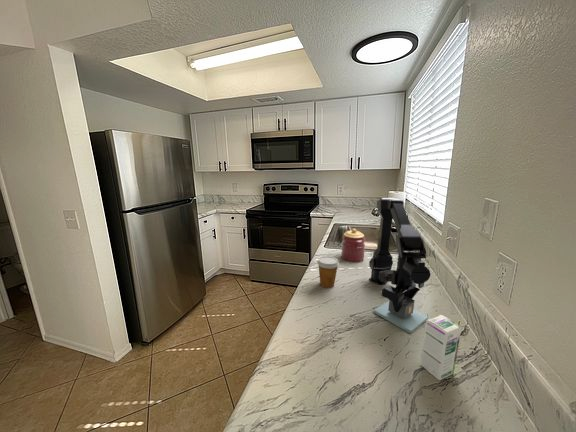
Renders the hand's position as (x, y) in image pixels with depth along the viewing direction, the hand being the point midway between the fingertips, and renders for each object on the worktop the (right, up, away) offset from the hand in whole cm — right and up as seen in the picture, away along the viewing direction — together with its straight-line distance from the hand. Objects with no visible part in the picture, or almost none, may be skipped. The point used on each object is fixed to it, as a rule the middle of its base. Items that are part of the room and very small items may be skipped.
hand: (400, 308), depth 87 cm
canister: (-3, +9, +53) cm, 54 cm away
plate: (0, -3, +1) cm, 3 cm away
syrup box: (0, -8, -21) cm, 23 cm away
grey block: (0, -1, 0) cm, 1 cm away
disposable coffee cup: (-23, +2, +23) cm, 33 cm away
